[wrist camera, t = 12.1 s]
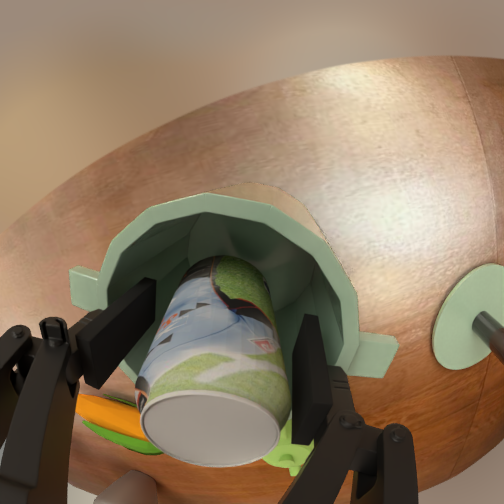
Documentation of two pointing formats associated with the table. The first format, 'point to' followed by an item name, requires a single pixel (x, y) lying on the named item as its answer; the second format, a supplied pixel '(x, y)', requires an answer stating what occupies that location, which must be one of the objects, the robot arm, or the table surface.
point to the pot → (251, 250)
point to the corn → (115, 422)
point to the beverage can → (216, 369)
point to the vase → (130, 490)
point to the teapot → (288, 452)
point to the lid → (471, 319)
